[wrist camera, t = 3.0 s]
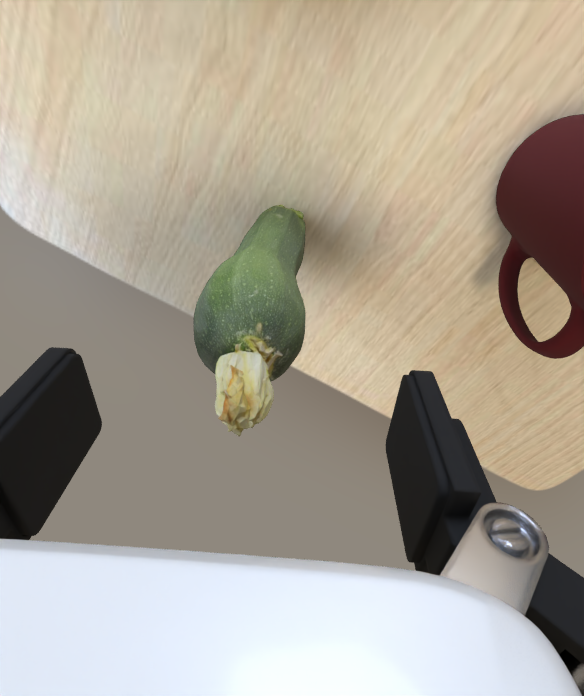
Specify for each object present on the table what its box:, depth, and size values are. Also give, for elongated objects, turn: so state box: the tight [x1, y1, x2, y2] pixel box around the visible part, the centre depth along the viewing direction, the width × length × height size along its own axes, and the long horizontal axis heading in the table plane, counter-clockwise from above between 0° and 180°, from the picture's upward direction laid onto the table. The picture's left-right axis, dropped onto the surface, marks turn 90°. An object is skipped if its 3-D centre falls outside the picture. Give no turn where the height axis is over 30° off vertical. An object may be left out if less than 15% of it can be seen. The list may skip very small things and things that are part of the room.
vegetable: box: [194, 205, 305, 436], centre depth 18 cm, size 4×4×20 cm
